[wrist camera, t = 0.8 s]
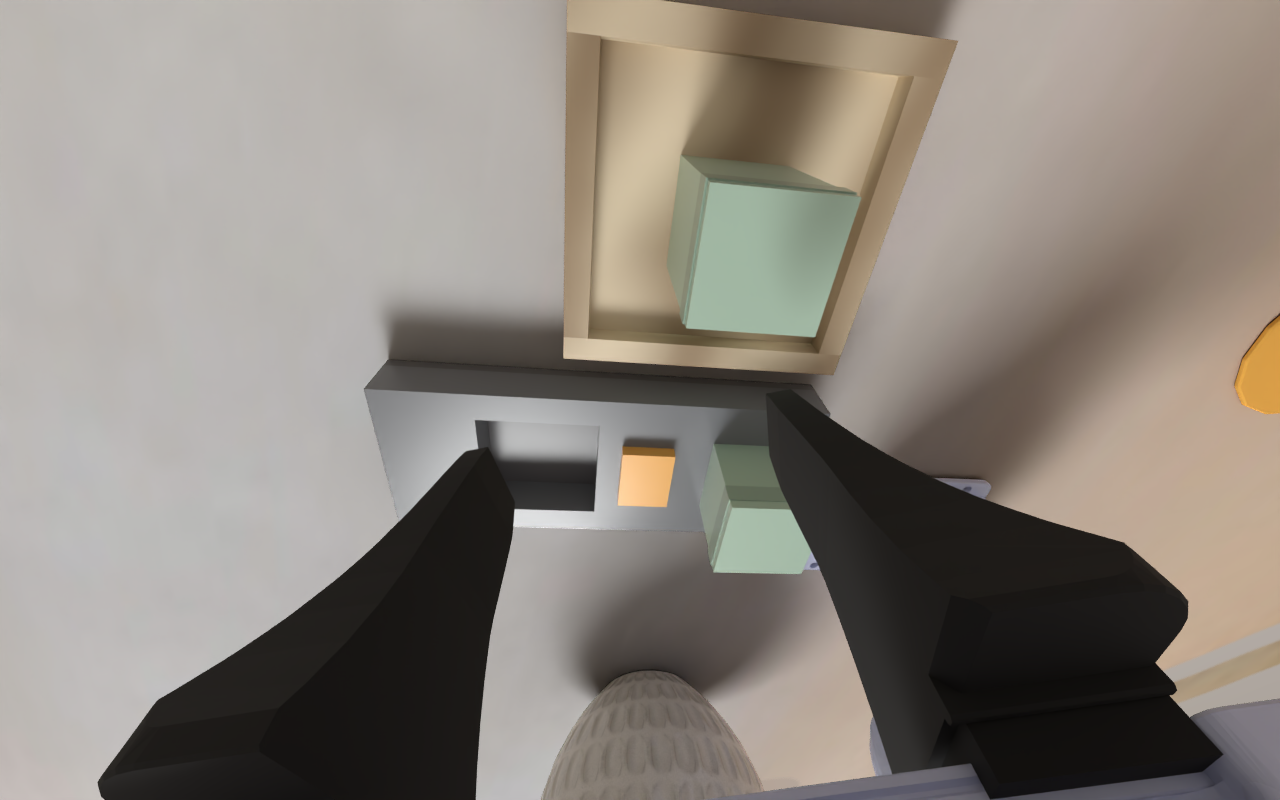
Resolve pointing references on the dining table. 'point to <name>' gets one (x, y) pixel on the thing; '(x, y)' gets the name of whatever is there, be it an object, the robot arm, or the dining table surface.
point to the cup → (1261, 372)
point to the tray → (723, 129)
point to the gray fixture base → (599, 451)
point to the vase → (650, 746)
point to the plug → (755, 245)
